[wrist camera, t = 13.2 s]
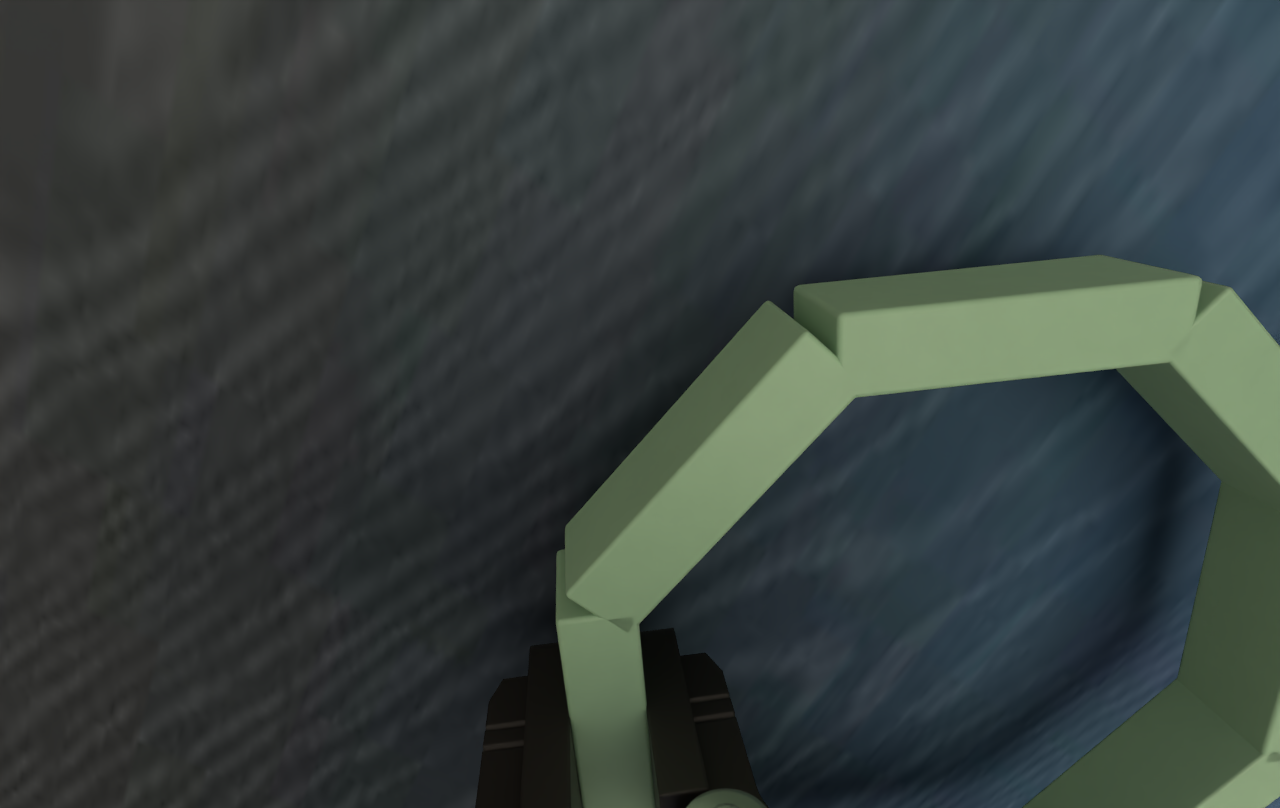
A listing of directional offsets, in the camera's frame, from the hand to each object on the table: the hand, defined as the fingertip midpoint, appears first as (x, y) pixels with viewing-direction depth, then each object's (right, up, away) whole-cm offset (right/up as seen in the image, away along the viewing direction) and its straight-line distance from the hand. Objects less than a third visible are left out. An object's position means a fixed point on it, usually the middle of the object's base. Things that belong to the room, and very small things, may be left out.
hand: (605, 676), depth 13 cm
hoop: (+6, +1, 0) cm, 6 cm away
